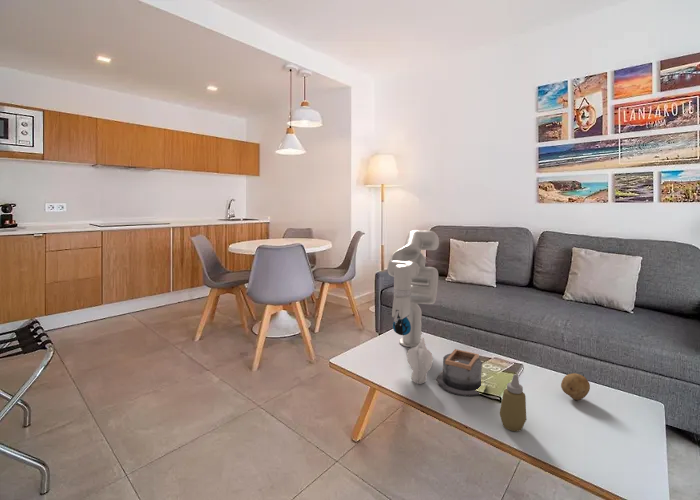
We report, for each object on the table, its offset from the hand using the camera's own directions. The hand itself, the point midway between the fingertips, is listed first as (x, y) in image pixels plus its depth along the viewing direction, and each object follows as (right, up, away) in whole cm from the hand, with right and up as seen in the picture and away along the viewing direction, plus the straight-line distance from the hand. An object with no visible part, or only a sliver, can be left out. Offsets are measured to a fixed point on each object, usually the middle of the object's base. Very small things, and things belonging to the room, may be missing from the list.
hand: (401, 330), depth 161 cm
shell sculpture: (+5, -18, -14) cm, 23 cm away
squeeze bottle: (+30, -22, -43) cm, 57 cm away
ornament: (0, -2, 0) cm, 2 cm away
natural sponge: (+61, -20, -26) cm, 70 cm away
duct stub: (+22, -18, -15) cm, 33 cm away
